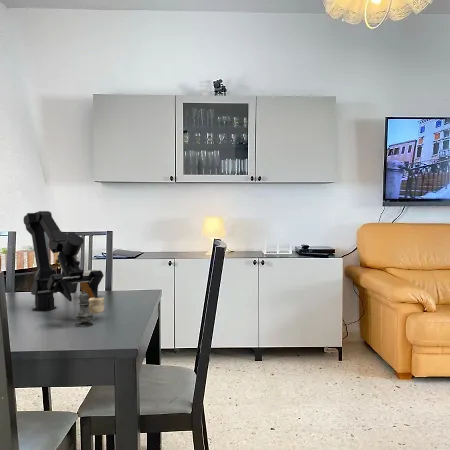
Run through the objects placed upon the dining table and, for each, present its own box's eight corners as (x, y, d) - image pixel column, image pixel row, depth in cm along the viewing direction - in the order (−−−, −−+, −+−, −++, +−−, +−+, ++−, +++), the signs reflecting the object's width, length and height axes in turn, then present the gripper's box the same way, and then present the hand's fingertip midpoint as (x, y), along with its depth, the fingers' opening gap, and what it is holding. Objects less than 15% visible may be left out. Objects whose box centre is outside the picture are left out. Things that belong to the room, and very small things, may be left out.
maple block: (87, 313, 176) (86, 300, 176) (91, 310, 181) (91, 297, 181) (100, 313, 176) (99, 300, 175) (104, 310, 181) (103, 297, 180)
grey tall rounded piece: (88, 327, 154) (87, 291, 154) (72, 326, 155) (71, 291, 155) (96, 323, 160) (96, 288, 160) (81, 322, 161) (80, 288, 161)
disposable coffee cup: (97, 300, 201) (96, 272, 200) (75, 300, 201) (75, 272, 200) (103, 296, 210) (102, 269, 210) (82, 296, 210) (82, 269, 210)
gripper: (86, 276, 176) (101, 309, 168) (37, 281, 163) (50, 317, 155) (96, 257, 170) (111, 290, 162) (45, 260, 157) (60, 297, 149)
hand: (84, 299), depth 157 cm, fingers open, 9 cm apart
